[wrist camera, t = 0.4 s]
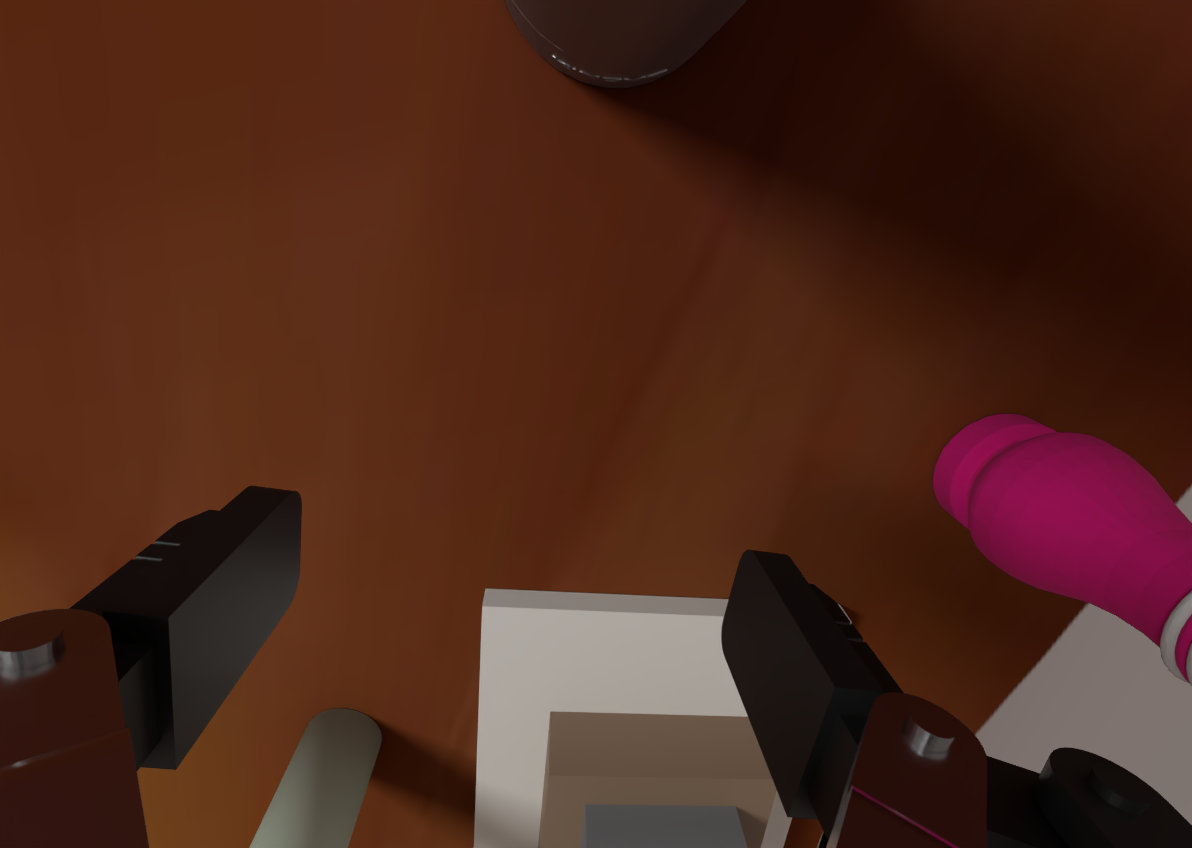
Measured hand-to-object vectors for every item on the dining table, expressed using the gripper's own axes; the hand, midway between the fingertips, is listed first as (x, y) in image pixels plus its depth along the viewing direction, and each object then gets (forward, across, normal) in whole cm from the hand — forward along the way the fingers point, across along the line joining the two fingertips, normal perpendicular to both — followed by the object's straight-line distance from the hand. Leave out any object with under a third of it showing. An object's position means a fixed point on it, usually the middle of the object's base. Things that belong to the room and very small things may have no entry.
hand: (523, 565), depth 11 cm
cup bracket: (+19, -10, +25) cm, 33 cm away
